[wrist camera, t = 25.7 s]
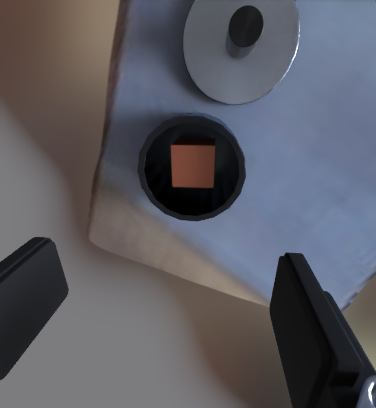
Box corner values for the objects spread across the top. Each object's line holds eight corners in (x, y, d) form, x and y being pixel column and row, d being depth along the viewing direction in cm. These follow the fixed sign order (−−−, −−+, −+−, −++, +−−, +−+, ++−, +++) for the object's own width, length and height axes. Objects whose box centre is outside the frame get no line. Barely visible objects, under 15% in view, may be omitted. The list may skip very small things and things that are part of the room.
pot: (192, 92, 28) (185, 87, 21) (256, 155, 30) (269, 171, 23) (139, 158, 32) (117, 174, 25) (198, 210, 35) (194, 238, 27)
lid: (240, -62, 22) (251, -125, 16) (320, 37, 25) (355, 15, 19) (162, 52, 27) (147, 37, 21) (236, 126, 29) (242, 132, 23)
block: (177, 138, 30) (170, 145, 26) (215, 139, 30) (215, 145, 25) (177, 175, 32) (172, 186, 28) (213, 176, 32) (213, 188, 27)
